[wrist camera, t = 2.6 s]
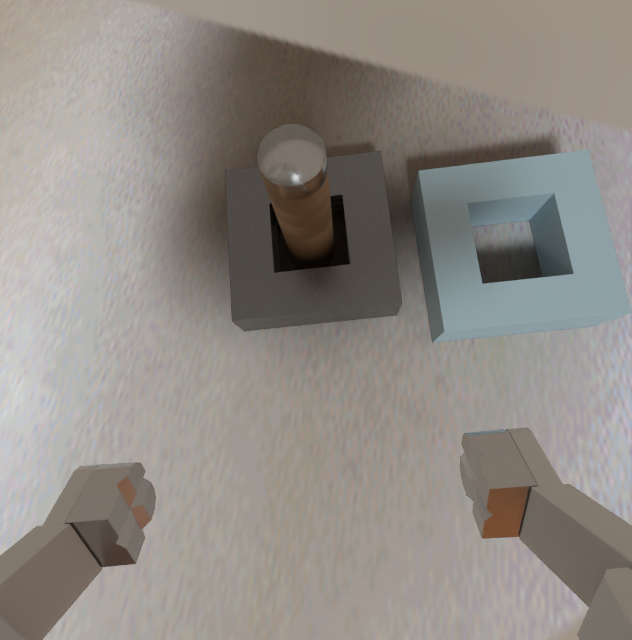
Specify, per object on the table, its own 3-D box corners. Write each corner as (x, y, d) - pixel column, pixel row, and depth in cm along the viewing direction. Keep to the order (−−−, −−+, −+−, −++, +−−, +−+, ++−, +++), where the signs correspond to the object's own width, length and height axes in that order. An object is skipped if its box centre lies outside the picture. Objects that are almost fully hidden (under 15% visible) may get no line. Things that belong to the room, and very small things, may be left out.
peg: (292, 274, 29) (258, 190, 18) (289, 234, 29) (254, 128, 19) (337, 270, 28) (329, 181, 18) (332, 228, 29) (322, 119, 18)
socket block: (244, 331, 28) (231, 321, 25) (237, 194, 30) (225, 170, 27) (396, 315, 27) (402, 303, 24) (377, 176, 30) (380, 150, 27)
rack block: (432, 342, 27) (444, 331, 23) (410, 199, 29) (418, 170, 26) (595, 326, 26) (631, 312, 23) (559, 181, 29) (588, 149, 25)
